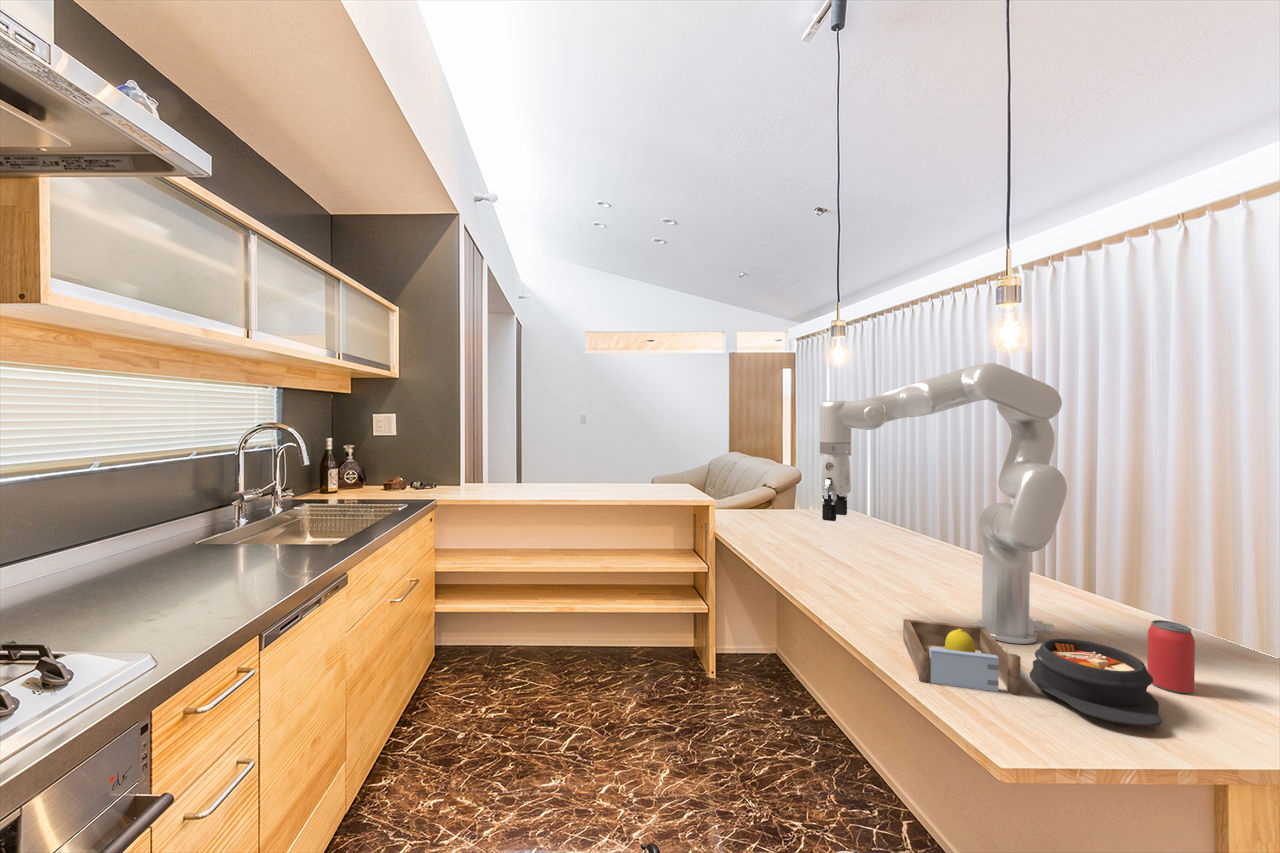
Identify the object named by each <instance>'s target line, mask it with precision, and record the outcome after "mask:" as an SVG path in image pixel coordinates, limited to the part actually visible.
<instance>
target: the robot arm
mask: <svg viewBox="0 0 1280 853" xmlns="http://www.w3.org/2000/svg"><path fill="white" fill-rule="evenodd" d="M980 401H990V402H993V403H994V404H996V408H997V411H998V413H999V414H1000V416H1002V418H1003V419H1004V420H1005V422H1006V423H1007V425H1008V427H1009V429H1010V435H1011V436H1010V437H1011V438H1010V441H1009V442H1010V443H1009V447H1008V451H1007V453H1006V457H1005V459H1004V462H1003V465H1002V468H1001V471H1000V474H999V477H998V480H997V483H998V488H999V490H1000V491H1001V493H1002V494H1004V495H1005V496H1006V497H1008V498H1011V499H1014V501H1013V504H1012V503H1008V502H997V503H996V502H995V503H993V504H990V505H988V506H987V507H986V508H984V509H983V510H982V512H981V515H980V516H979V522H978V523H979V534H980V539H981V548H982V570H981V571H982V573H981V574H982V581H981V582H982V587H981V592H982V595H981V603H982V604H981V620H977V621H976V622H975V623H974V626H978V627H985V628H986V629H987V631H988V632H989V633H990V634H991V635H992V637H993V638H994V639H995V640H996V641H999V642H1003V643H1008V644H1020V645H1021V644H1022V645H1027V644H1029V645H1030V644H1034V643H1035V642H1037V640H1038V634H1037V633H1038V632H1044V633H1049V634H1050V633H1052V634H1053V633H1055V626H1054V625H1053V624H1052V623H1044V622H1043V621H1042V620H1033V619H1032V618H1031V617H1030V590H1031V589H1030V588H1031V587H1030V586H1031V580H1030V578H1031V575H1030V574H1031V559H1030V553H1035V552H1039V551H1040V550H1042V549H1044V548H1045V547H1046V546H1047V545H1048V543H1049V542H1050V541H1051V539H1052V537H1053V535H1054V533H1055V531H1056V527H1057V524H1058V521H1059V519H1060V516H1061V512H1062V510H1063V507H1064V503H1065V501H1066V497H1067V494H1068V493H1067V492H1068V491H1067V490H1068V485H1067V481H1066V478H1065V477H1064V475H1063V473H1062V472H1061V471H1060V470H1059V469H1058V468H1056V467H1054V466H1052V465H1050V464H1051V460H1052V454H1053V451H1054V447H1055V437H1056V436H1055V431H1054V429H1053V426H1052V423H1051V421H1050V420H1051V419H1053V418H1055V417H1056V416H1057V415H1058V414H1059V412H1060V411H1061V408H1062V406H1063V405H1062V402H1063V401H1062V397H1061V395H1060V393H1059V392H1058V391H1057V390H1056V389H1055V388H1054V387H1053V386H1051V385H1049V384H1048V383H1044V382H1043V381H1041V380H1038V379H1036V378H1033V377H1031V376H1028V375H1026V374H1024V373H1022V372H1018V371H1016V370H1014V369H1012V368H1010V367H1006V366H1004V365H1002V364H998V363H993V362H992V363H991V362H989V363H982V364H978V365H973V366H972V365H971V366H968V367H964V368H962V369H957V370H954V371H951V372H948V373H944V374H942V375H938V376H935V377H930V378H927V379H924V380H920V381H917V382H914V383H911V384H908V385H905V386H902V387H900V388H896V389H894V390H893V389H892V390H890V391H888V392H887V391H886V392H884V393H881V394H878V395H873V396H870V397H867V398H866V397H865V398H862V399H859V400H856V401H855V400H854V401H847V400H826V401H823V402H821V404H820V405H819V456H821V457H822V460H821V461H822V462H821V464H822V465H821V477H820V478H821V483H820V484H821V488H820V489H821V494H822V495H821V498H822V501H821V502H822V503H821V504H822V510H821V511H822V512H821V515H822V517H821V518H822V520H823V521H827V522H836V521H837V516H847V515H848V494H850V493H851V490H852V484H851V482H852V481H851V479H852V478H851V463H850V457H851V456H852V429H857V430H864V431H873V430H877V429H879V428H881V427H882V426H883V425H884V424H885V423H888V422H892V421H896V420H900V419H907V418H917V417H924V416H930V415H933V414H938V413H940V412H943V411H948V410H951V409H955V408H958V407H960V406H964V405H968V404H972V403H975V402H980Z"/></svg>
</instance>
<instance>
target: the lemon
mask: <svg viewBox="0 0 1280 853" xmlns="http://www.w3.org/2000/svg"><path fill="white" fill-rule="evenodd" d="M944 649H947V650H955V651H964V652H973V653H976V650H975V644H974V641H973V639H972V637H971V636H970V635H969V634H968V633H966V632H964V631H963V630H962V629H958V630H954V631H952V632H950V633H949V634H948V635H947V637H946V641H945V647H944Z"/></svg>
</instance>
